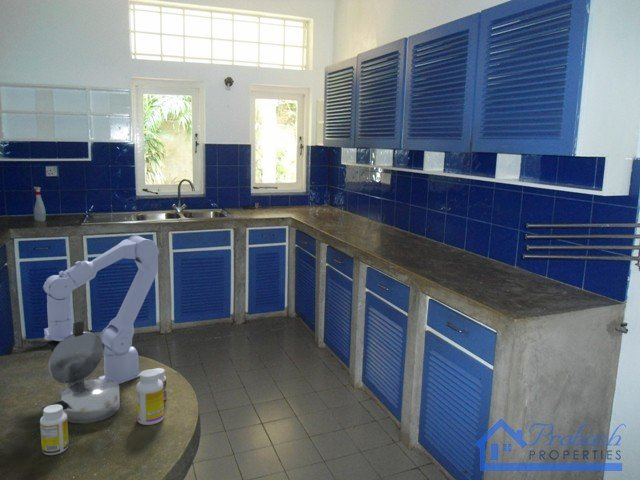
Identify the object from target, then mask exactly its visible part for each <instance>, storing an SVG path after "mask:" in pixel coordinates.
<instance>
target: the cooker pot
mask: <svg viewBox="0 0 640 480" xmlns="http://www.w3.org/2000/svg"><path fill="white" fill-rule="evenodd" d="M60 394H61V400H59V401H57V402H54V403H51V404H49V405H46V406H43V407H41V409H42V413H43V410H44V408H45V407H47V406H50V405H55V404H59V405H62V406H63V412H65V413H66V414H67V422H68V423H73V424H91V423H95V422H100V421H104V420H106V419H108V418H110V417H112V416H114V415H115V414H116V413H117V412H118V411H119V410H120V407H121V403H120V402H121V400H120V397H121V396H120V384H118V383H116V382H114V381H112V380H107V379H99V378H97V379H96V378H94V379H93V378H92V379H89V380H84V381H81V382H78V383H75V384H72V385H70V386H67V387H66V388H65V389H64V390H63V391H62V392H61V393H60Z"/></svg>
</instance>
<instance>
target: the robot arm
mask: <svg viewBox="0 0 640 480" xmlns="http://www.w3.org/2000/svg"><path fill="white" fill-rule="evenodd" d="M159 254H160V250H159V247H158V245H157V243H156V242H155V241H154V240H152V239H148V238H144V237H143V236H141V235H135V234H134V235H132V236H130V237H128V238H126V239H123V240H122V241H121V242H119V243H118V244H116V245H115V246H113V247H112V248H109V249H108V250H107V251H105V252H104V253H102V254H100V255H99V256H97V257H96V258H94V259H92V260H90V261H88V260H82V261H80V260H78V261H76V262H74V265H73V266H71V267H69V268H68V269H65V270H61V271H58V274H54V275H50V276H48V277H47V278H46V279H45V280H46V281H44V284H43V286H42V289H43V290H44V292H45V293H46V301H47V302H46V309H47V310H46V311H47V325H48V326H47V327H46V328H43V331H44V340H45V341H47V343H46V344H47V346H48V347H49V348H50V350H51V353H52V352H53V350H54V349H55V347H56V346H57V345H58V344H59V343H60V342H61V341H62V340H63V339H65V338H66V337H68V336H69V335H71V334H73V328H72V311H71V298H70V297H71V295H72V294H73V291H74V290H76V289H78V288H79V287H81V286H82V285H84V284H86V283H88V282H89V281H91V280H93V279H94V278H96V275H97V273H98V271H100V270H102V269H104V268H107V267H108V266H110V265H112V264H114V263H117V262H118V261H120V260H122V259H127V260H128V259H131V260H134V262H135V264H136V266H137V268H138V270H137V272H136V274H135V276H134V278H133V281H132V282H131V284H130V287H129V289H128V290H127V293H126V295H125V297H124V300H123V302H122V304H121V306H120V308H119V310H118V312H117V314H116V316H115V317H114V318H112V319H111V320H110V321H109V322H108V324H107V326H106V327H104V329H103V330H102V331H101V333H100V335H99V338H100V340H101V342H102V344H103V346H104V347H103V369H104V371H103V372H104V375H101V376H99V377H98V379H107V380H112V381H114V382H116V383H118V385H120V384H123V383H126V382H128V381H131V380H134V379H136V378H140V365H139V364H140V362H139V359H140V358H139V353H138V350H137V349H136V347H135V346H132V345H133V337H134V335H135V329H134V328H135V327H134V323H135V321H136V319H137V317H138V314H139V313H140V310H141V309H142V307H143V304H144V302H145V299H146V297H147V296H148V293H149V291H150V289H151V287H152V284H153V282H154V280H155V277H156V276H157V274H158V271H159Z"/></svg>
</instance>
